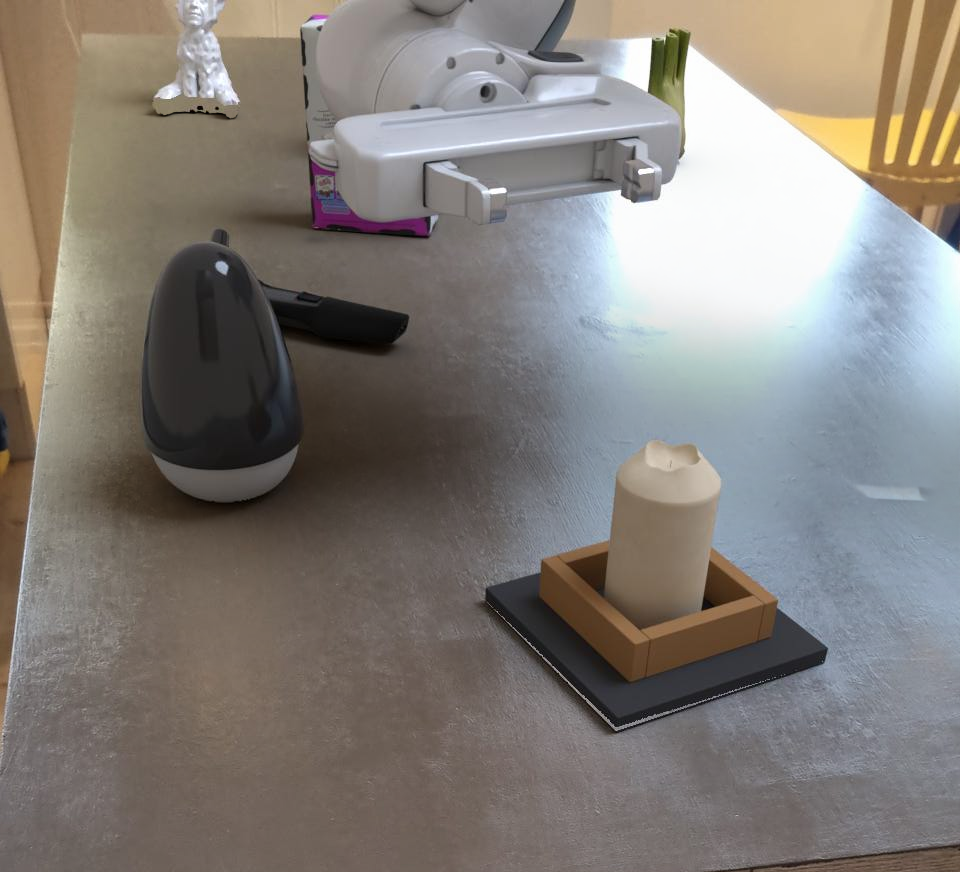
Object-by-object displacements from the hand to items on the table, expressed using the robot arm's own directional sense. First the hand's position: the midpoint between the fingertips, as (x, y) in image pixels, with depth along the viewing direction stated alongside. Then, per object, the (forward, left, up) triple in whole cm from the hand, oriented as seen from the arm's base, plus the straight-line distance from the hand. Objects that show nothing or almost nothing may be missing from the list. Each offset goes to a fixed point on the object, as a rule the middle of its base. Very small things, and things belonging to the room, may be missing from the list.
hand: (574, 197), depth 73 cm
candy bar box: (-14, -55, -20) cm, 60 cm away
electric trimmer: (+1, -35, -20) cm, 40 cm away
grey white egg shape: (+16, -15, -20) cm, 30 cm away
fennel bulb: (-49, -60, -20) cm, 80 cm away
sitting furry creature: (-13, -97, -20) cm, 100 cm away
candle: (+1, +12, -19) cm, 23 cm away
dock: (+1, +12, -20) cm, 23 cm away
